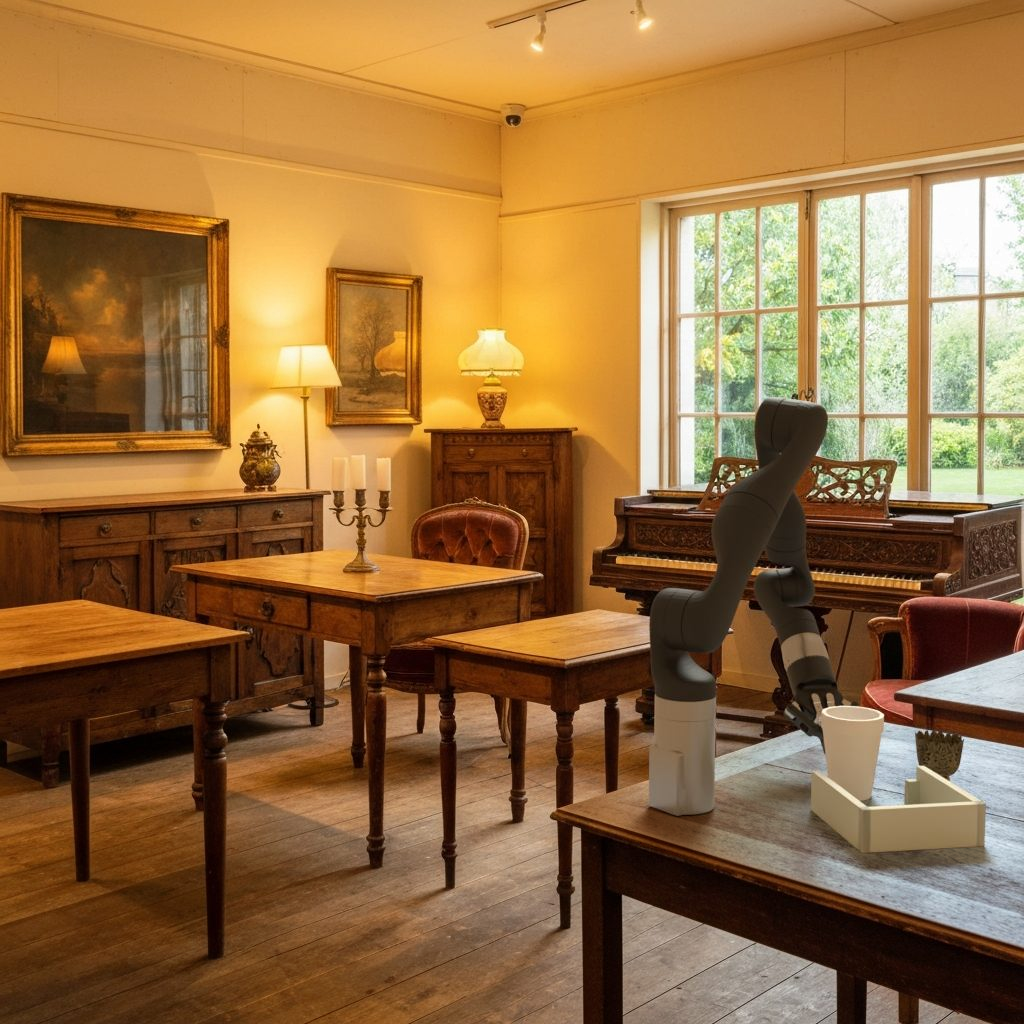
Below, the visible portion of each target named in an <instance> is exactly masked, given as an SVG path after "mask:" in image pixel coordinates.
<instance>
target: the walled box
mask: <svg viewBox="0 0 1024 1024" xmlns="http://www.w3.org/2000/svg"><path fill="white" fill-rule="evenodd" d="M915 771H916V773H915V775H916V777H915V778H906V779H904V801H903V802H904V804H899V805H898V804H897V805H879V806H878V805H877V806H867V805H866V804H864V803H863V802H862V801H859V800H858V799H856V798H855V797H854V796H852V795H851V794H850V793H848V792H847V791H846V790H844V789H843V788H842V787H840V786H839V785H838V784H836V783H835V782H834V781H832V780H831V779H830V778H828V775H826V774H825V773H824V772H822V771H821V770H811V780H810V781H811V783H810V784H811V785H810V786H811V789H810V790H811V791H810V810H811V811H812V812H813V814H815V815H816V816H818V817H819V818H820V819H821V820H822V821H823V822H824V823H826V824H827V825H828V826H829V827H831V828H832V829H833V830H834V831H835V832H836V833H838V834H839V835H840V836H841V837H842V838H843V839H844V840H846V841H847V842H848V843H849V844H850V845H852V846H853V847H854V848H855V849H857V851H859V852H860V853H861V854H865V853H882V852H883V853H884V852H897V851H899V852H901V851H916V850H917V851H918V850H935V849H953V848H972V847H974V848H975V847H984V846H985V845H986V843H985V840H986V811H987V810H986V809H987V803H986V802H983V801H982V800H980V799H979V798H977V797H975V796H974V795H972V794H971V793H970V792H967V791H966V790H964V789H963V788H961V787H960V786H958V785H956V784H954V783H953V782H951V780H950V781H948V780H946V779H945V778H943V777H941V776H940V775H938V774H937V773H935V772H933V771H932V770H930V769H928V768H927V767H925V766H919V765H917V766H916V770H915Z"/></svg>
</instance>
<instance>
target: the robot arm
mask: <svg viewBox="0 0 1024 1024" xmlns="http://www.w3.org/2000/svg"><path fill="white" fill-rule="evenodd" d="M828 425H829V416H828V413H827V410H826V409H825V406H823V405H822V404H820V403H815V402H812V401H809V400H800V399H794V398H787V397H780V396H779V397H778V396H769V397H767V398H765V399H764V400H763V401H762V402H761V404H760V405H759V407H758V409H757V411H756V414H755V419H754V431H753V433H754V443H755V450H756V452H755V453H756V457H757V458H756V459H757V465H758V470H756V471H754V472H752V473H751V474H749V475H747V476H746V477H744V478H742V479H741V480H740V481H738V482H737V483H735V484H734V485H733V486H732V487H731V488H730V489H729V490H728V491H727V493H726V495H725V496H724V498H723V500H722V501H721V504H720V506H719V507H718V509H717V511H716V513H715V515H714V517H713V519H712V523H711V539H712V545H713V549H714V553H715V557H716V558H715V559H716V570H715V573H714V575H713V578H712V580H711V582H710V584H709V585H708V587H706V589H704V590H694V589H686V588H678V587H677V588H676V587H667V588H664V589H661V590H660V591H659V592H658V593H657V594H656V595H655V598H654V599H653V601H652V605H651V607H650V614H649V623H648V624H649V628H648V629H649V648H650V653H649V654H650V672H651V673H650V675H651V677H652V680H653V685H654V723H653V725H654V727H653V729H654V731H653V732H654V734H653V736H654V737H653V738H654V739H653V743H651V744H650V745H649V750H648V751H649V752H648V753H649V754H648V758H649V759H648V765H649V766H648V769H649V770H648V806H649V807H651V808H654V809H657V810H660V811H662V812H666V813H667V814H670V815H673V816H677V817H678V816H682V815H683V816H685V815H701V814H706V813H708V812H711V811H712V810H714V808H715V796H716V795H715V790H716V789H715V785H716V784H715V783H716V781H715V780H716V721H717V720H716V719H717V715H716V713H717V708H716V707H717V682H716V681H717V680H716V679H715V676H714V675H713V674H712V673H710V672H708V671H707V670H705V669H703V668H702V667H700V665H698V664H697V663H696V662H695V660H693V658H692V657H691V655H690V652H691V653H696V654H711V653H714V652H716V651H717V650H718V649H719V648H720V646H721V645H722V644H723V643H724V641H725V639H726V637H727V636H728V633H729V631H730V629H731V626H732V624H733V622H734V619H735V616H736V613H737V610H738V608H739V605H740V602H741V599H742V597H743V594H744V592H745V589H746V588H747V585H748V582H749V580H750V577H751V576H752V574H753V572H754V569H755V568H756V565H757V563H758V561H759V559H760V558H761V556H762V553H763V551H764V552H765V553H764V554H765V556H766V558H767V559H768V560H769V561H770V562H771V563H774V564H778V565H781V566H789V567H787V568H786V567H785V568H777V569H769V570H768V569H767V570H763V571H760V573H758V574H757V575H756V577H755V579H754V582H753V591H754V592H753V593H754V597H755V599H756V601H757V602H758V603H757V604H758V605H759V607H760V608H761V610H762V611H763V613H764V614H765V615H766V616H767V618H768V620H769V622H770V623H771V624H772V626H773V628H774V630H775V632H776V635H777V638H778V642H779V646H780V650H781V654H782V655H781V656H782V661H783V665H784V669H785V672H786V675H787V678H788V682H789V685H790V689H791V693H792V695H793V698H792V703H788V704H787V706H786V708H785V709H784V711H783V716H784V717H785V718H786V719H787V720H789V721H790V722H791V723H792V724H793V725H794V726H796V727H797V728H798V729H799V730H801V732H803V733H804V734H805V735H806V736H807V737H808V738H810V737H811V738H812V737H817V738H818V739H819V741H820V746H821V747H822V748H821V749H822V752H823V754H824V755H825V756H826V754H825V745H824V736H823V728H822V727H821V714H822V710H823V709H825V708H828V707H834V706H857V707H860V706H859V705H860V704H859V703H858V702H857V701H852V702H850V701H848V700H846V699H845V698H844V695H843V693H842V692H841V691H840V690H839V688H838V683H837V680H836V679H837V678H836V676H835V673H834V672H835V671H834V669H833V666H832V663H831V660H830V656H829V654H828V653H829V652H828V651H827V648H826V645H825V644H824V641H823V639H822V637H821V634H820V630H819V627H818V624H817V621H816V619H815V616H814V614H813V613H812V612H811V610H808V609H805V608H802V607H804V606H806V605H808V604H810V603H811V602H812V601H813V599H814V597H815V593H816V586H815V582H814V578H813V575H812V573H811V570H810V567H809V562H808V558H807V557H808V556H807V551H806V550H807V546H806V543H807V540H806V539H807V519H806V513H805V511H804V507H803V505H802V502H801V500H800V498H799V497H798V495H797V493H796V491H795V488H796V486H797V485H798V483H799V481H800V480H801V479H802V477H803V475H804V473H805V472H806V471H807V469H808V467H809V466H810V464H811V463H812V461H813V460H814V458H815V457H816V455H817V453H818V452H819V450H820V448H821V447H822V444H823V442H824V440H825V437H826V434H827V429H828Z"/></svg>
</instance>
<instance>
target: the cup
mask: <svg viewBox="0 0 1024 1024" xmlns="http://www.w3.org/2000/svg"><path fill="white" fill-rule="evenodd" d="M914 737H915V748H916V749H915V750H916V756H917V757H916V758H917V762H918V763H917V764H918V766H925V767H927V768H928V769H930V770H932V771H933V772H935V773H937V774H938V775H940V776H941V777H943V778H945V779H946V780H948V781H950V782H951V776H953V775H955V773H957V772H958V770H959V767H960V765H961V760H962V754H963V748H964V743H965V742H964V741H965V738H963V737H962V735H959V733H958V732H955V733H952V734H951V732H950V731H949V730H948V731H947V732H946V733H944V732H943V731H942V730H938V731H936V730H935V729H933V730H931V731H930V733H929V730H928V729H926V730H925V731H924V733H923V731H921V730H918V731H917V732H914Z"/></svg>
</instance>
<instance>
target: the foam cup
mask: <svg viewBox="0 0 1024 1024" xmlns="http://www.w3.org/2000/svg"><path fill="white" fill-rule="evenodd" d="M821 727H822V728H823V736H824V745H825V754H826V755H825V754H824V755H825V761H826V770H827V772H826V773H827V777H828V778H830V779H831V780H832V781H834V782H835V783H836V784H838V785H839V786H840V787H842V788H843V789H844V790H846V791H847V792H848V793H850V794H851V795H852V796H854V797H855V798H856V799H858V800H859V801H860V802H862V801H867V800H869V799H870V800H871V798H872V793H873V789H874V782H875V777H876V776H875V775H876V772H877V764H878V759H879V754H880V753H879V752H880V746H881V742H882V741H881V739H882V735H883V732H884V728H885V714H884V713H882V712H881V711H879V710H877V709H873V708H869V707H863V706H858V707H857V706H834V707H828V708H825V709H823V710H822V714H821Z"/></svg>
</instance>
